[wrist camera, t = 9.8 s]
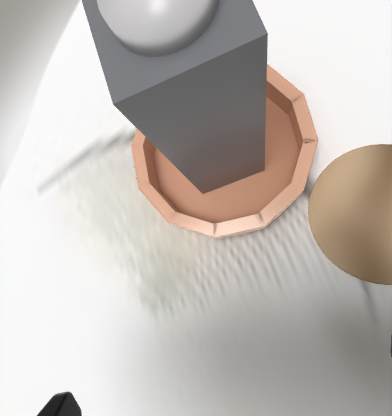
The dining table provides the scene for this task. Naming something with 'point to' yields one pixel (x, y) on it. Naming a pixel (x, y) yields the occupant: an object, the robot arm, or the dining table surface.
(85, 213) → the dining table surface
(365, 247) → the cork coaster
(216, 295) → the dining table surface
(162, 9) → the canister
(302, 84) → the dining table surface
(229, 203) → the ring dish
